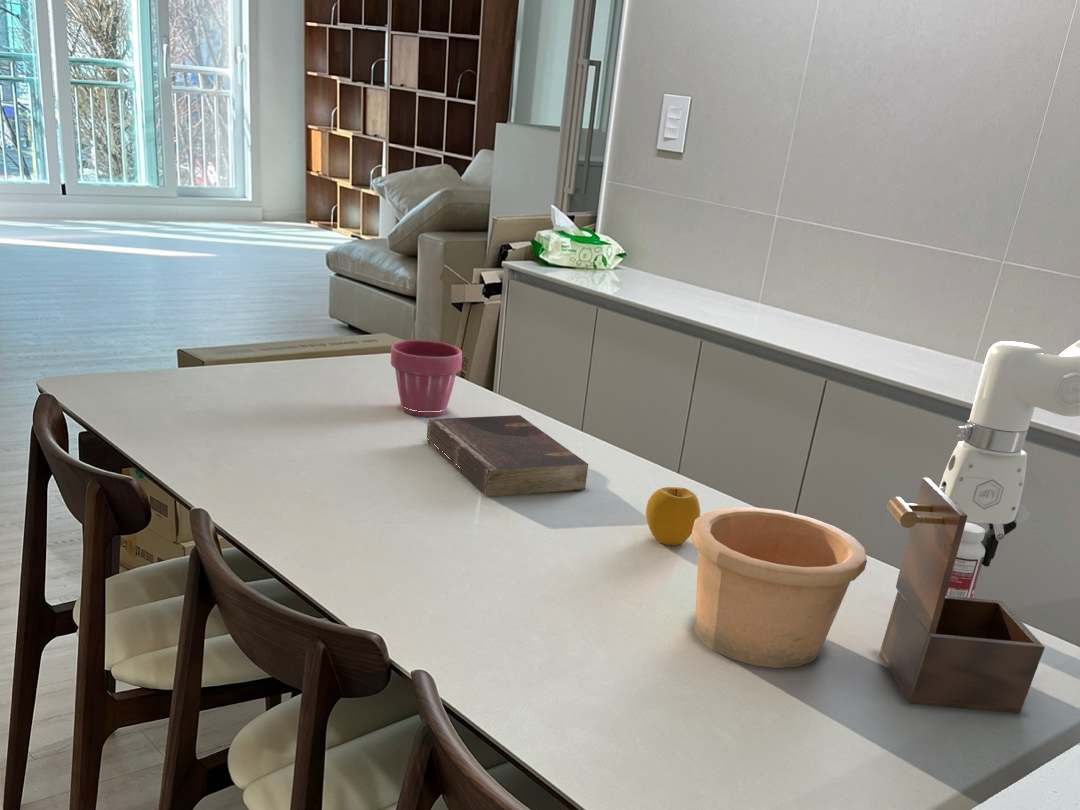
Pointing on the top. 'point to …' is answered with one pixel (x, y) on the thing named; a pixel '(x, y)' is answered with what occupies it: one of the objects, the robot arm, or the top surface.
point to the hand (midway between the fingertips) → (959, 560)
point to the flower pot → (425, 374)
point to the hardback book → (506, 455)
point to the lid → (928, 550)
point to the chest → (962, 656)
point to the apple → (672, 514)
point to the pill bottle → (967, 562)
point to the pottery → (770, 583)
